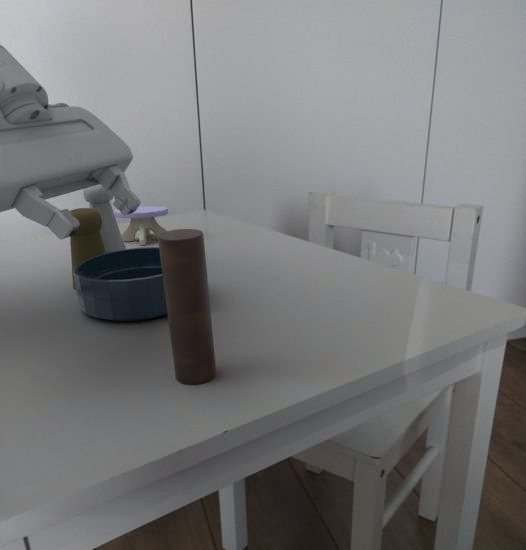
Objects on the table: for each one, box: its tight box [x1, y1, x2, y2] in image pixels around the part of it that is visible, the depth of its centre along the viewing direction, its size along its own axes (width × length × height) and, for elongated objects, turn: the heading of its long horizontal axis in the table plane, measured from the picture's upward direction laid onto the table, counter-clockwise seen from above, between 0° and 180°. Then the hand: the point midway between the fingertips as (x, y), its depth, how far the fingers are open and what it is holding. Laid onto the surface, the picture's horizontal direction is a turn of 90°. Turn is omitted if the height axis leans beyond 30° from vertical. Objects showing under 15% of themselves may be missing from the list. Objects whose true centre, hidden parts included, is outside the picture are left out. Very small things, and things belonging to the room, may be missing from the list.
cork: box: [69, 207, 106, 291], centre depth 81 cm, size 6×6×11 cm
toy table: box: [113, 205, 169, 247], centre depth 106 cm, size 10×9×6 cm
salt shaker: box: [82, 184, 127, 252], centre depth 88 cm, size 6×6×13 cm
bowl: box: [73, 246, 168, 322], centre depth 75 cm, size 15×15×6 cm
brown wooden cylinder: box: [157, 228, 217, 386], centre depth 53 cm, size 4×4×14 cm
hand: (105, 220), depth 53 cm, fingers open, 8 cm apart
